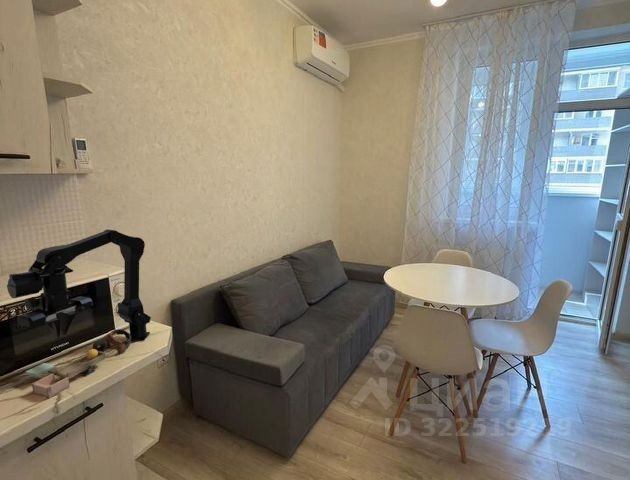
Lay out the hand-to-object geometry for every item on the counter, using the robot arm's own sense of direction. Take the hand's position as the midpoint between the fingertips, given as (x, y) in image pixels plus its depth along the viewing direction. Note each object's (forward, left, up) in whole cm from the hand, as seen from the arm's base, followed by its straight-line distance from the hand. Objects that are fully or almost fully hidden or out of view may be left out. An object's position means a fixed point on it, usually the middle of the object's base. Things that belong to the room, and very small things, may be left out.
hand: (60, 336), depth 102 cm
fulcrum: (+3, +8, -11) cm, 14 cm away
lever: (+3, +3, -9) cm, 10 cm away
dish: (+12, +3, -11) cm, 16 cm away
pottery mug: (-10, +10, -11) cm, 18 cm away
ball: (0, +9, -6) cm, 11 cm away
